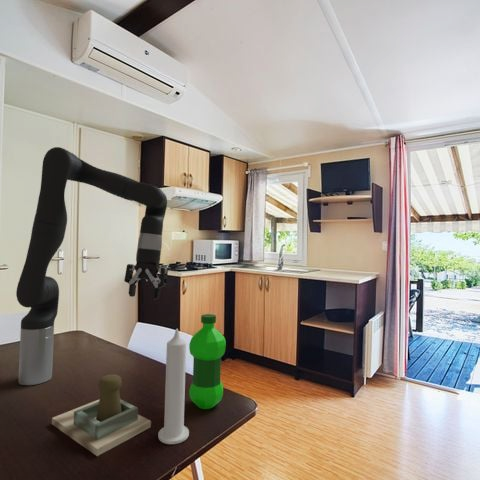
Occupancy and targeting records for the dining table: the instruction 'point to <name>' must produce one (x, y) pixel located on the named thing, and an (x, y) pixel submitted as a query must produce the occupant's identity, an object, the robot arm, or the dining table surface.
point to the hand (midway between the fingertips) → (143, 298)
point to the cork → (109, 397)
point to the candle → (174, 393)
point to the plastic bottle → (207, 364)
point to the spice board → (101, 426)
